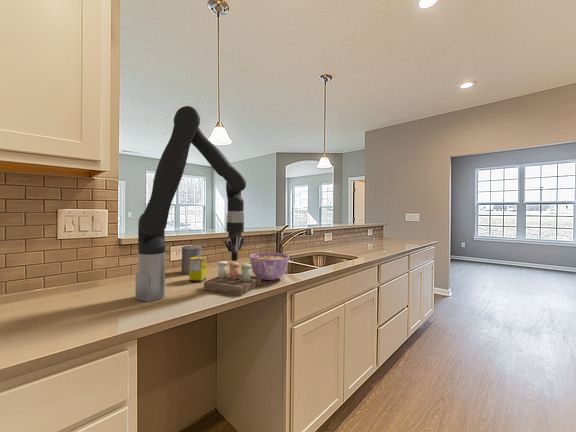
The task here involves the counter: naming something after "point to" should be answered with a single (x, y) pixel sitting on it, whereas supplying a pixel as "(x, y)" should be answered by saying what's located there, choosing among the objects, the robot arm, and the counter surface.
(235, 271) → the terracotta shaker
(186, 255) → the pillar candle
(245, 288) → the walnut board
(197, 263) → the supplement box
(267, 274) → the bowl of food
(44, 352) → the counter surface
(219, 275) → the white shaker
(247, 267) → the pale green shaker
